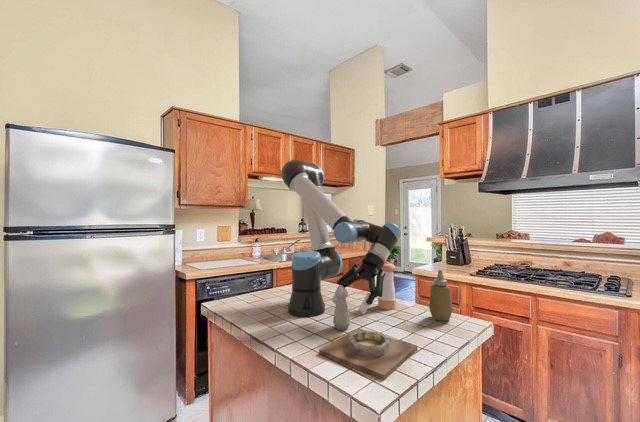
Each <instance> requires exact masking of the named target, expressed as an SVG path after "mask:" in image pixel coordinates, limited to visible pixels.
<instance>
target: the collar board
mask: <svg viewBox="0 0 640 422" xmlns="http://www.w3.org/2000/svg"><path fill="white" fill-rule="evenodd" d="M415 352H418V344H413V343H411V342H406V341H403V340H399V339H397V338H393V337H389V336H387V335H385V334H384V333H381V332H378V331H374V330H373V331H372V330H365V329H362V328H356V329H355V330H353V331H351V332H348V333H347V334H344V335H343V336H340V338H338V339H336V340H334V341H333V342H332V341H331V343H329V344H326V346H323V347H321V348H320V349H319V350H318V355H320V356H323V357H325V358H327V359H330V360H333V361H335V362H337V363H340V364H343V365H346V366H348V367H350V368H353V369H355V370H358V371H361V372H363V373H365V374H368V375H370V376H373V377H375V378H377V379H381V380H382V381H385V380H387V378H389V377H390V376H391V375H392V374H393V373H394V372H395V371H396V370H397V369H399V367H401V366H402V364H404V362H406V361H408V360H409V358H410V357H412V355H414V354H415Z"/></svg>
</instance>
